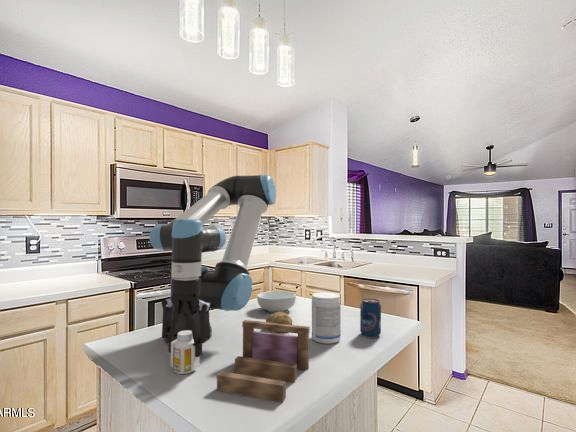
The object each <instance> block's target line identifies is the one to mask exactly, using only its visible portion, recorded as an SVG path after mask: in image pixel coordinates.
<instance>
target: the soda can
mask: <svg viewBox="0 0 576 432" xmlns="http://www.w3.org/2000/svg"><path fill="white" fill-rule="evenodd" d="M359 307H360V309H359V310H360V313H359V316H360V317H359V318H360V321H359V329H360V330H359V332H360V333H361V334H362V336H363V337H365V338H369V339H376V338H379V336H380V335H381V333H382V310H381V309H382V305H381V302H380V300H379V299H377V298H363V299H362V300H361V303H360V305H359Z"/></svg>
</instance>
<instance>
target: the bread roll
mask: <svg viewBox="0 0 576 432" xmlns="http://www.w3.org/2000/svg"><path fill="white" fill-rule="evenodd" d="M265 322H269V323H279V324H288V325H293V319H292V317H291V316H289V315H288V314H287V313H286V312H285V311H284V312H276V313H270V314H269V315H268V316H267V318H266V319H265ZM267 332H269V333H275V334H286V333H287V334H288V332H280V331H271V330H267Z"/></svg>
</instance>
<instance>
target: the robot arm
mask: <svg viewBox="0 0 576 432" xmlns="http://www.w3.org/2000/svg"><path fill="white" fill-rule="evenodd" d="M276 192H277V189H276V185H275V182H274V179H273V177H272V176H270V175H268V174H259V175H233V176H230V177H227V178H225V179H223V180H221V181H219V182H217V183H216V184H214V185H213V186H211V187H210V188H209V189H208V190H207V193H206V194H205V195H204V196H203V197H201V198H200V199H199V200H197V201H196V202H195V203H194V204H192V205H191V206H190V207H189V208H186V210H185V211H184V212H182V213H181V214H179V215H178V216H177V217H175V219H173V220H172V221H170V222H169V223H168V224H165V225H164V224H161V225H155V226H153V227H152V229H150V233H149V243H150V245H151V246H152V247H153V249H156V250H159V251H160V250H162V251H165V252H166V251H171V275H170V276H171V278H170V279H171V280H170V298H166V299H163V300H161V306H162V323H161V326H162V327H161V337H162V338H163V340H164V341H165V343H166V344H168V353H169V354H170V368H173V369H174V346H175V342H176V341H178V338H177V335H178V332H180V331H185V330H190V331H192V335H193V338H192V339H193V340H194V344H192V345H191V371H193V372H194V371H196V370H197V369H198V368H199V367H200V357H201V356H202V354H203V344H204V343H206V342H208V341H209V340H210V339H211V338H212V336H213V334H212V333H213V329H212V328H213V327H212V325H211V322H210V310H211V309H212V310H222V311H223V310H224V311H225V312H232V311H234V312H235V311H237V312H238V311H241V310H242V309H243V308H245V306H247V304H248V302H249V301H250V298H251V296H252V292H253V280H252V277H251V276H250V271H249V269H248V268H247V267H248V263H249V260H250V257H251V253H252V250H253V247H254V242H255V240H256V235H257V232H258V228H259V226H260V221H261V217H262V214H264V213H266V212H267V210H268V207H269V206H272V205H274V204H275V203H276V201H277V200H276V198H277V193H276ZM236 205H238V206H239V208H238V212H237V214H236V218H235V220H234V223H233V227H232V229H231V233H230V237H229V239H228V241H227V236H226V233H225V231H224V230H223V228H222V227H220V226H215V225H208V226H207V225H205V224H206V223H207V222H208V221H210V220H211V218H213V217H214V216H215V215H216V214H218V212H220V211H221V210H225V209H226V208H228V207H230V206H236ZM226 242H227V245H226ZM225 245H226V248H225V250H224V254H223V257H222V259H221V260H220V261H218V262H216V264H215V266H214V269H213V271H209V269H208V266H202V254H203V253H210V252H212V253H215V252H217V251H219V250H221V249H223V247H224V246H225Z"/></svg>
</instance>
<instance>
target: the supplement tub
mask: <svg viewBox="0 0 576 432" xmlns="http://www.w3.org/2000/svg"><path fill="white" fill-rule="evenodd" d="M341 322H342V321H341V295H339V293H335V292H334V293H333V292H315V293H312V295H311V337H312V338H311V339H312V340H313V341H314V342H317V343H319V344H324V345H325V344H326V345H327V344H335V343H338V342H339V341H340V340H341V335H342V334H341V332H342V331H341V325H342V324H341Z"/></svg>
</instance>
